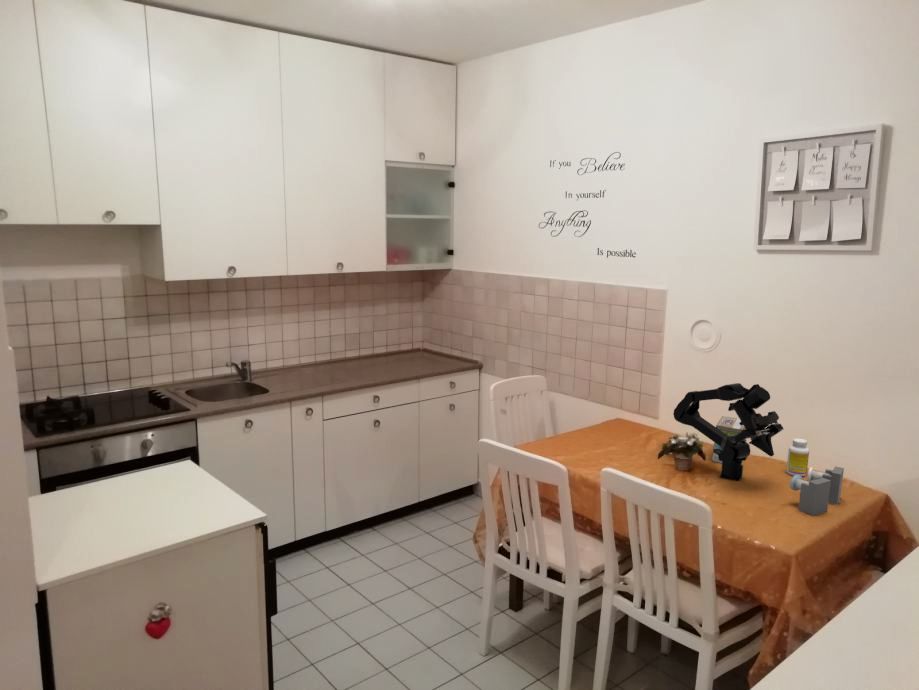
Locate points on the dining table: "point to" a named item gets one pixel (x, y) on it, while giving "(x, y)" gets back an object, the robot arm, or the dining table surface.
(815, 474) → the button ivory
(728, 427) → the tea box
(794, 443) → the supplement bottle
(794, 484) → the button blue
